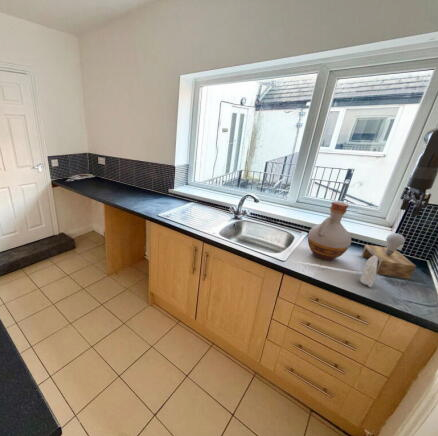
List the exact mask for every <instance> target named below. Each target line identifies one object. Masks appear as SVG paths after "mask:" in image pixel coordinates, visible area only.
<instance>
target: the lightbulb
mask: <svg viewBox="0 0 438 436" xmlns="http://www.w3.org/2000/svg"><path fill="white" fill-rule="evenodd" d="M385 240H386V244H387V245H386V248H387V250H386V253H387V254H389V255H390V254H393V253H394V251H395V250H397V249H398V248H400V247H401V246H403V245H404V243H405V241H406V238H405V237H404V235H402V234H400V233H395V232H394V233H390V234H388V235H387V237H386V239H385Z"/></svg>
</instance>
